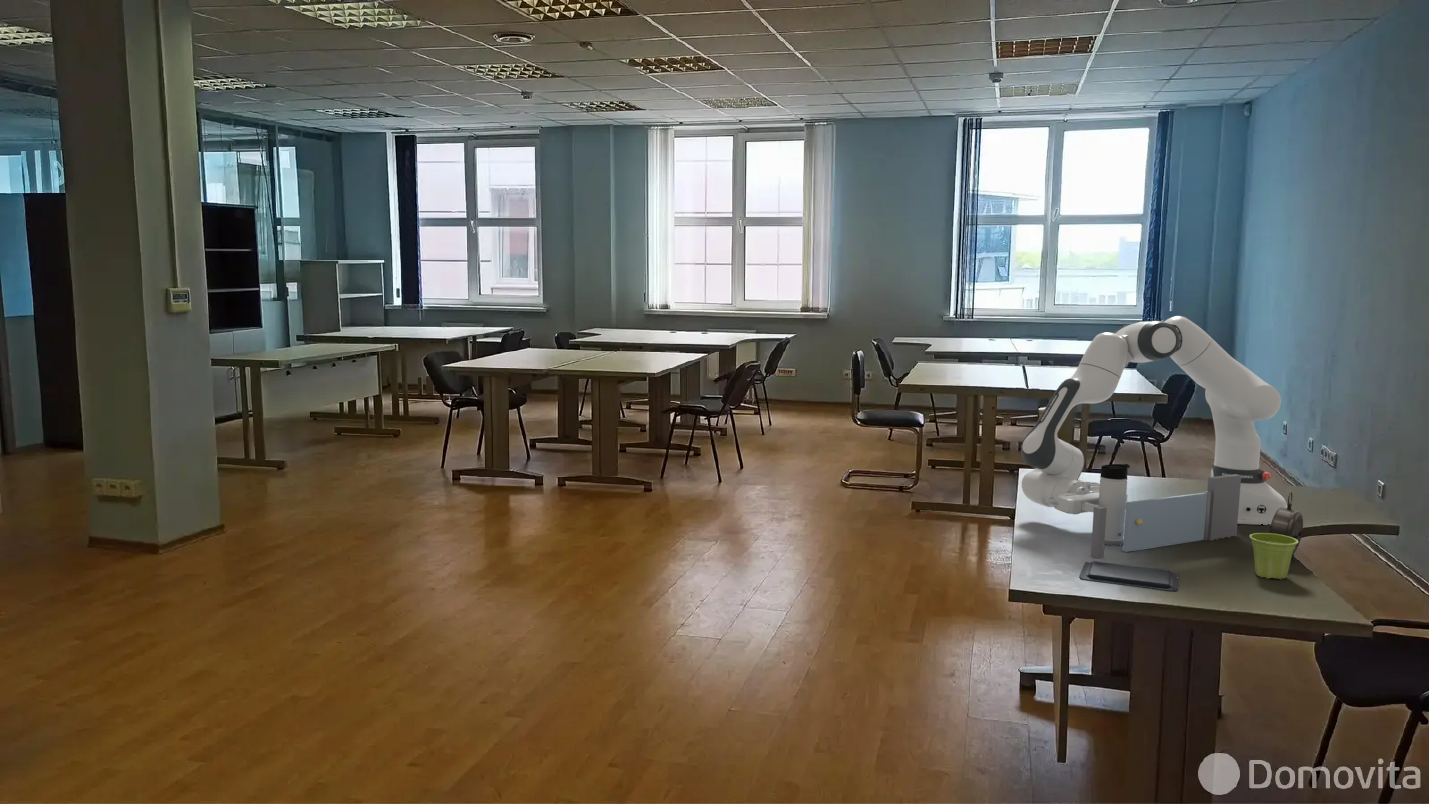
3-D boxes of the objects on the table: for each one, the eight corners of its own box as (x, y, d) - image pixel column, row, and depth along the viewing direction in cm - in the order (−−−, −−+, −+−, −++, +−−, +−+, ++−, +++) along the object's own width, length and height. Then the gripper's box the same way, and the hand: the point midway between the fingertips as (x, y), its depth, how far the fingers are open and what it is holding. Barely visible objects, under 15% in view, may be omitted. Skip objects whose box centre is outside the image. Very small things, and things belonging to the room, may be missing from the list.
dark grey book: (1077, 573, 215) (1085, 556, 228) (1077, 581, 215) (1085, 564, 228) (1178, 587, 206) (1180, 568, 219) (1177, 596, 206) (1179, 576, 219)
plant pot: (1275, 584, 213) (1278, 545, 212) (1237, 572, 221) (1240, 535, 220) (1304, 579, 216) (1308, 541, 215) (1265, 567, 225) (1268, 531, 224)
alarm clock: (1279, 551, 238) (1285, 486, 236) (1304, 556, 235) (1310, 490, 233) (1264, 560, 231) (1270, 493, 229) (1290, 565, 227) (1296, 497, 225)
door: (1203, 538, 249) (1206, 491, 248) (1212, 541, 247) (1215, 493, 246) (1121, 551, 237) (1125, 501, 235) (1130, 553, 235) (1133, 503, 233)
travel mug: (1126, 546, 241) (1132, 467, 239) (1098, 544, 243) (1103, 465, 240) (1121, 540, 248) (1126, 462, 245) (1094, 538, 249) (1099, 461, 246)
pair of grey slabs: (1230, 534, 254) (1234, 474, 252) (1237, 536, 252) (1242, 475, 250) (1090, 556, 233) (1094, 490, 231) (1097, 558, 231) (1101, 491, 229)
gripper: (1043, 488, 251) (1085, 499, 238) (1101, 481, 260) (1144, 492, 247) (1042, 512, 252) (1083, 524, 239) (1100, 504, 260) (1143, 516, 248)
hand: (1115, 508), depth 243 cm, fingers open, 8 cm apart
